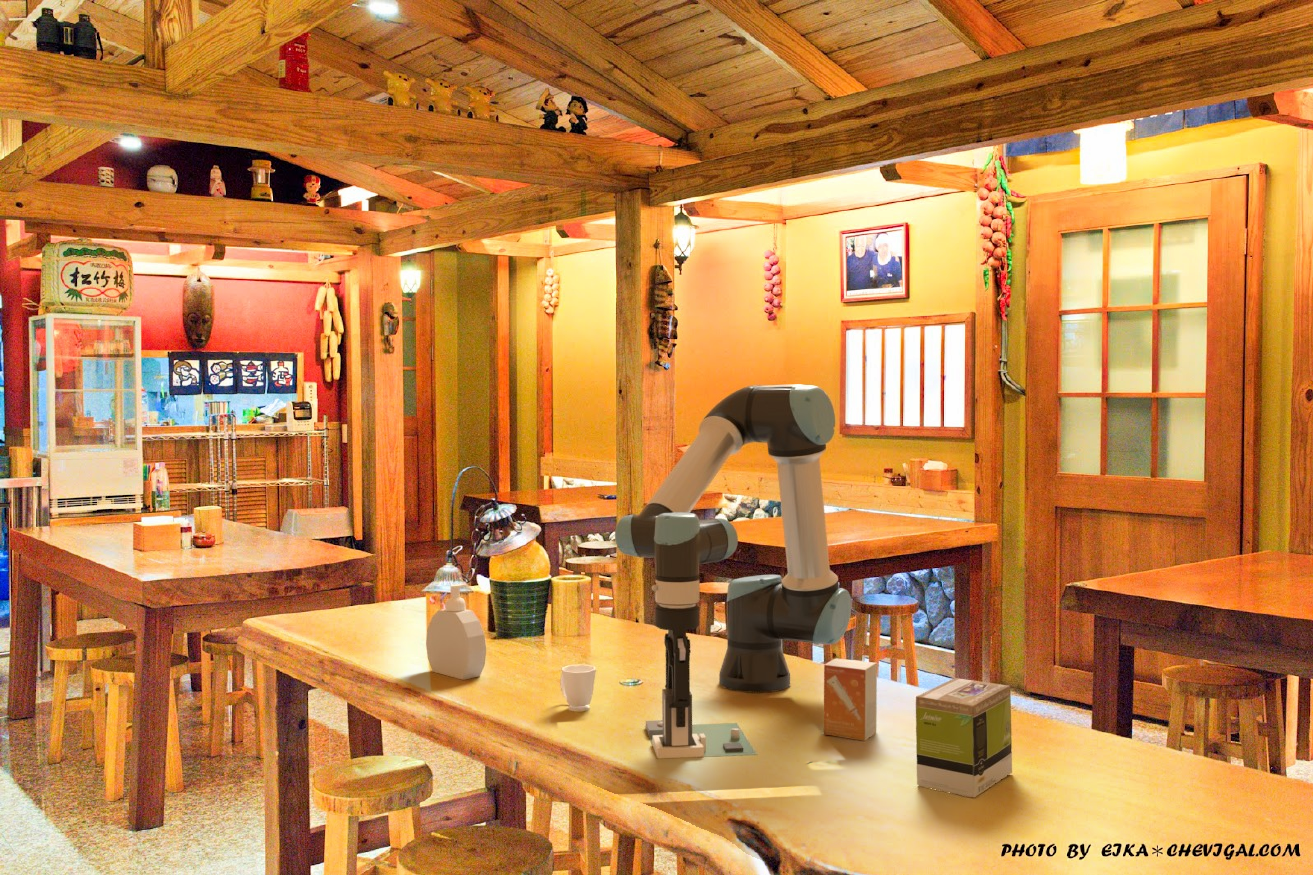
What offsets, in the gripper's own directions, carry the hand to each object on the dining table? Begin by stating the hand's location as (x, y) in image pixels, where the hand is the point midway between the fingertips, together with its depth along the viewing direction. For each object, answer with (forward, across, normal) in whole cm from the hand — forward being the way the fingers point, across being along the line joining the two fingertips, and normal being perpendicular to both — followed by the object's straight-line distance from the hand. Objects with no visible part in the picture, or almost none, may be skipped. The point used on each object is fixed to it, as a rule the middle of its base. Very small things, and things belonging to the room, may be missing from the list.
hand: (677, 739), depth 196 cm
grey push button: (+3, -9, -1) cm, 10 cm away
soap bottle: (+3, -66, -41) cm, 77 cm away
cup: (+3, -35, -16) cm, 38 cm away
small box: (+3, -10, +33) cm, 35 cm away
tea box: (+3, +17, +44) cm, 47 cm away
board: (+3, -6, +4) cm, 8 cm away
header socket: (+2, 0, 0) cm, 2 cm away
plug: (+2, 0, 0) cm, 2 cm away
